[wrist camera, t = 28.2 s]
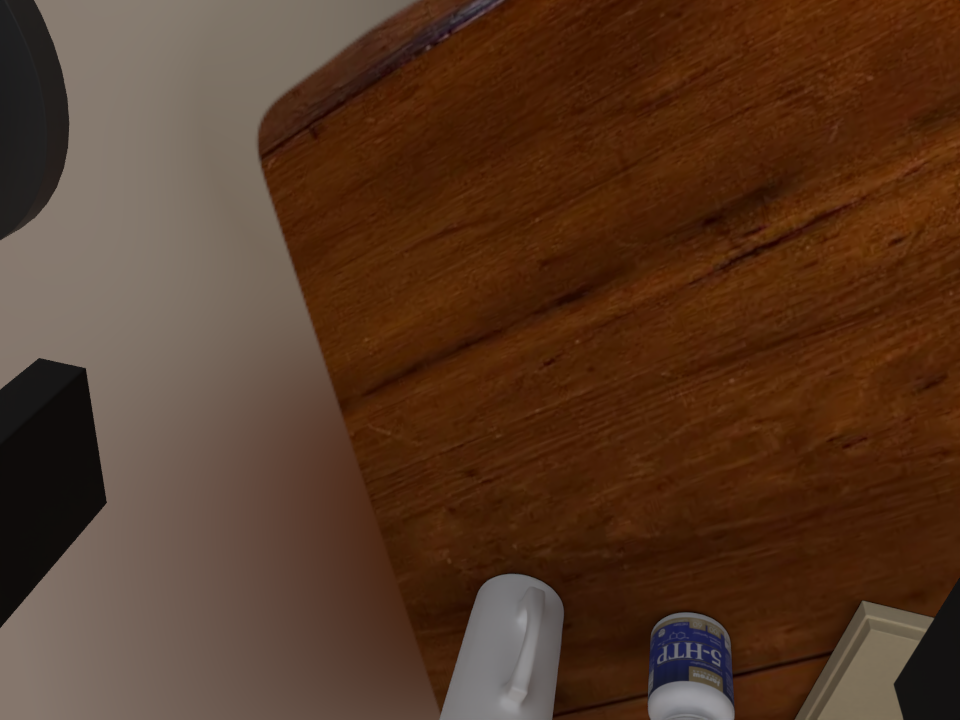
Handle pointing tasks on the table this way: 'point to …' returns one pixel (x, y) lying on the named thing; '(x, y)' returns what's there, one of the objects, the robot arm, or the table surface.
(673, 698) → the pill bottle
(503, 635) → the mug
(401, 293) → the table surface
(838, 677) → the beige stepped flat slab
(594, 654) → the table surface
